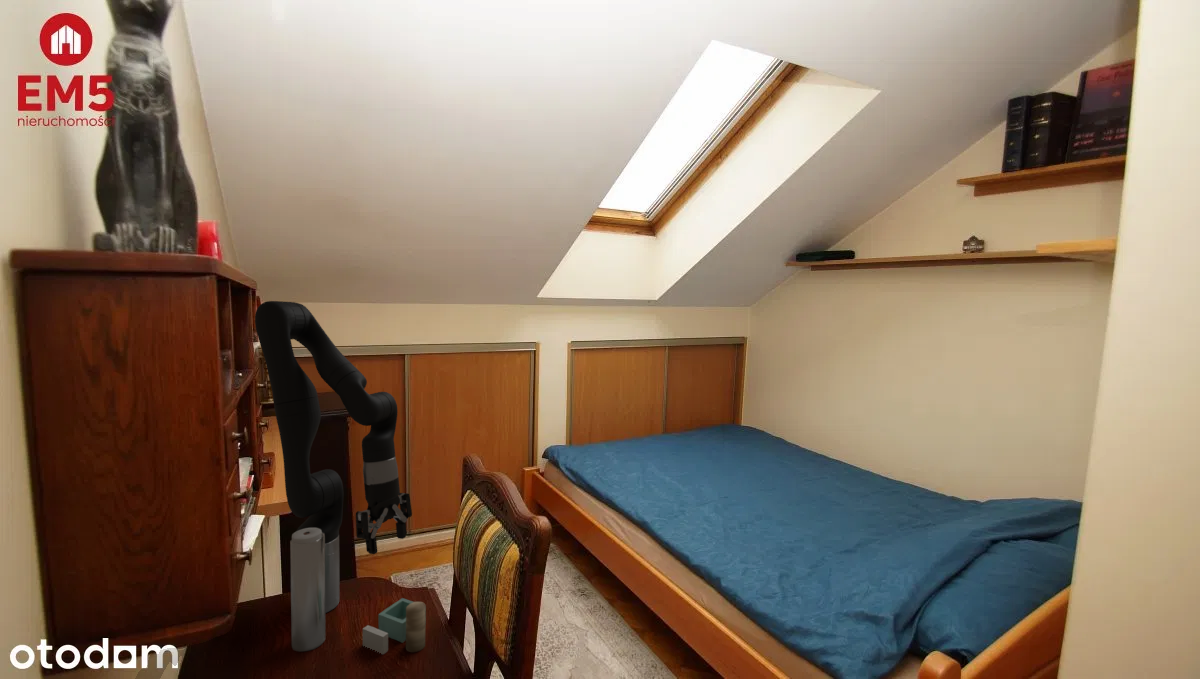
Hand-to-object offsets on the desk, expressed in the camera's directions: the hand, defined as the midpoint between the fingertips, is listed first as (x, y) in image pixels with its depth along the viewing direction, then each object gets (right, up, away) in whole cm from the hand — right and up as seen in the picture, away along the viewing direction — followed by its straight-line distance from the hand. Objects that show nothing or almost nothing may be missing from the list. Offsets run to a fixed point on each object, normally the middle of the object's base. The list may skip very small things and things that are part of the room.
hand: (387, 545), depth 122 cm
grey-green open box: (+5, -18, -3) cm, 19 cm away
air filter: (-14, -18, -8) cm, 24 cm away
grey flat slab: (+1, -19, -10) cm, 21 cm away
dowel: (+10, -19, -8) cm, 23 cm away
